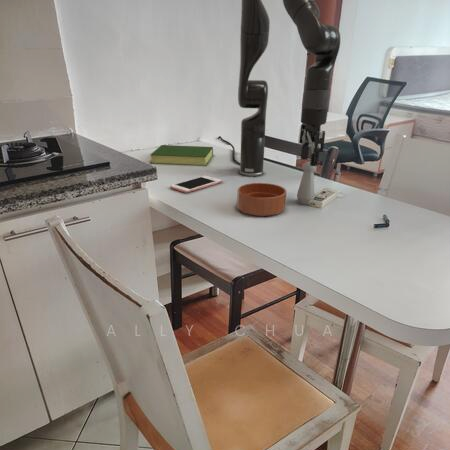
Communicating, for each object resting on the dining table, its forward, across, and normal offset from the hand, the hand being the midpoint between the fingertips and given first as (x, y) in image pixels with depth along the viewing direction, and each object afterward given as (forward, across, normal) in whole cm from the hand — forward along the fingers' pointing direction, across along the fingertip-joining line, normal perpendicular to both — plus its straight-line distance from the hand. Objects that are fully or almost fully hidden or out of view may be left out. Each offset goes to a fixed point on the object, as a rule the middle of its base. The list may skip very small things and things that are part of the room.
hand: (308, 162), depth 129 cm
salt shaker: (+13, 0, 0) cm, 13 cm away
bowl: (+13, +3, -16) cm, 21 cm away
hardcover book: (+13, -65, -34) cm, 75 cm away
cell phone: (+13, -25, -33) cm, 43 cm away
